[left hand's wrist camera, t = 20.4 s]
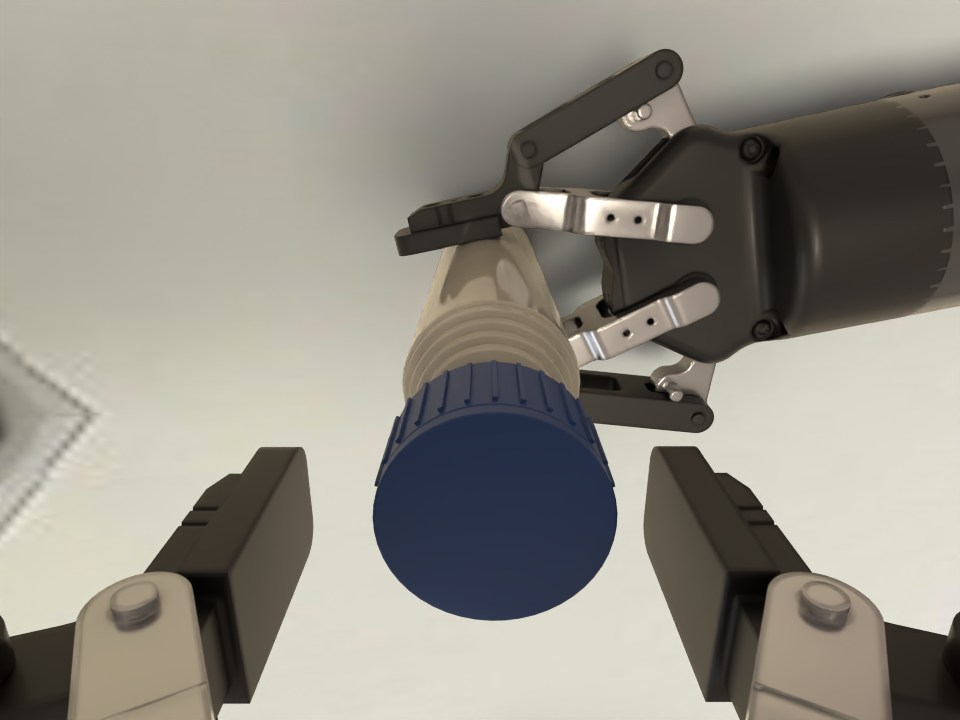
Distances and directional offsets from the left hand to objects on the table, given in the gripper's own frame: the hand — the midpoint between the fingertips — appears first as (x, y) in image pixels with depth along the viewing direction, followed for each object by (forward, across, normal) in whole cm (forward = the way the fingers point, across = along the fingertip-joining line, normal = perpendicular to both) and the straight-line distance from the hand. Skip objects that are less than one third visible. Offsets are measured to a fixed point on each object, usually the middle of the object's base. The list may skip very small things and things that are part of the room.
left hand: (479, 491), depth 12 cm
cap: (-2, 0, +1) cm, 2 cm away
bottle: (+19, 0, +1) cm, 19 cm away
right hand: (+13, -2, 0) cm, 13 cm away
